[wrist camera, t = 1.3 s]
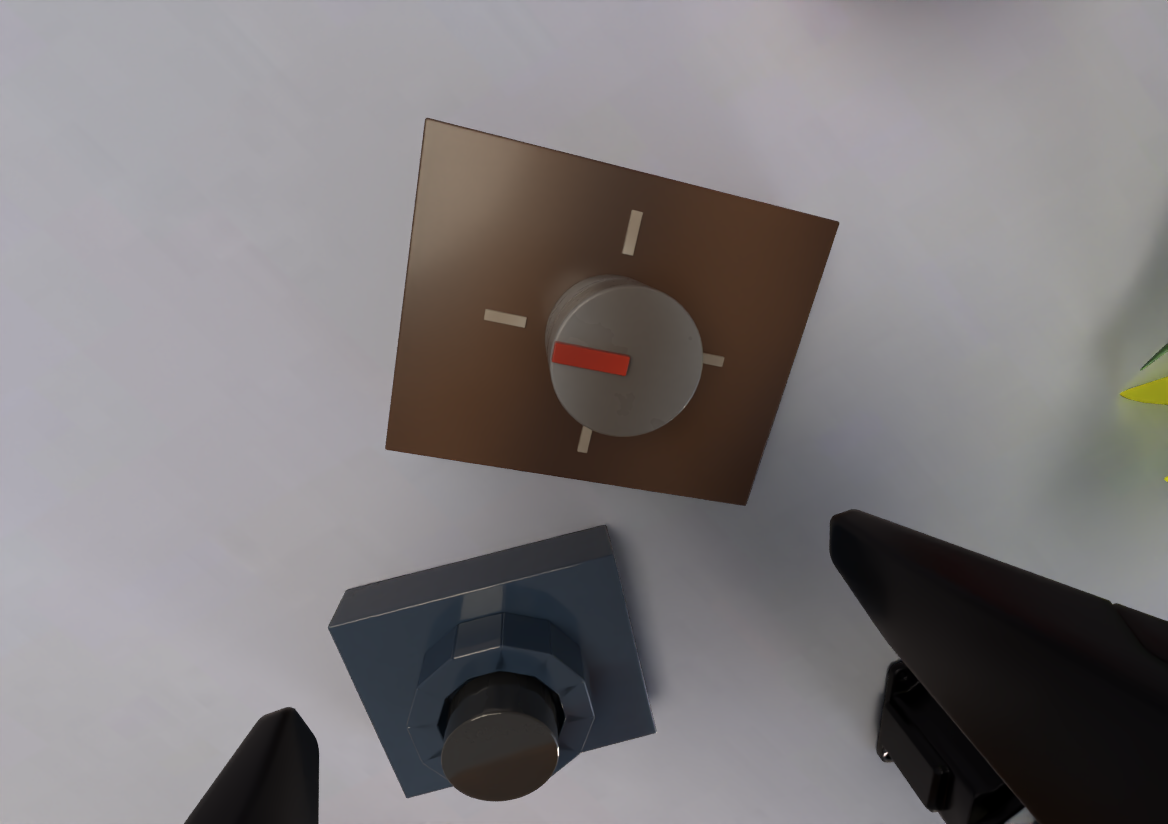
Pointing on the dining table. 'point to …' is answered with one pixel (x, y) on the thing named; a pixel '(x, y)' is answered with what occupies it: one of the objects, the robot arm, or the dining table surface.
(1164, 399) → the daffodil flowers
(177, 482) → the dining table surface
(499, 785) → the plunger
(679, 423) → the dial panel
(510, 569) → the push button panel
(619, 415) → the dial
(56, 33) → the dining table surface
